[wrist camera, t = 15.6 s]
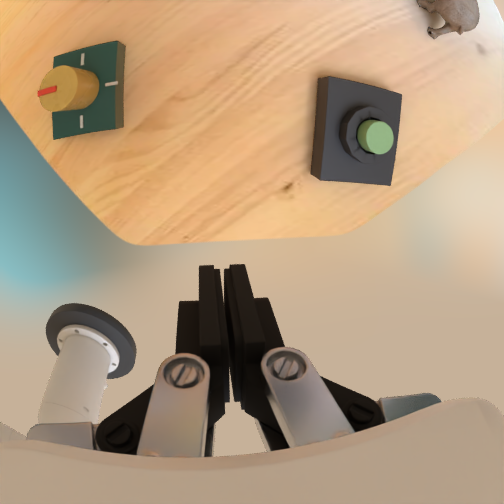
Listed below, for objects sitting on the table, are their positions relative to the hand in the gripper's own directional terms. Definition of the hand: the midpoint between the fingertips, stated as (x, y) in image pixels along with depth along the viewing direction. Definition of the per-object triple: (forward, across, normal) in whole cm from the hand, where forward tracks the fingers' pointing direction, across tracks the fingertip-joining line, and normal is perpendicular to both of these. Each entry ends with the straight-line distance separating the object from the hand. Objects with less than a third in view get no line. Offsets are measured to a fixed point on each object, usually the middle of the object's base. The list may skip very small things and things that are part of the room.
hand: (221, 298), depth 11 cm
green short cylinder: (+19, -17, -6) cm, 26 cm away
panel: (+24, +14, -11) cm, 30 cm away
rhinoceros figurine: (+23, -32, -32) cm, 51 cm away
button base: (+23, -17, -6) cm, 30 cm away
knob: (+21, +14, -11) cm, 27 cm away
